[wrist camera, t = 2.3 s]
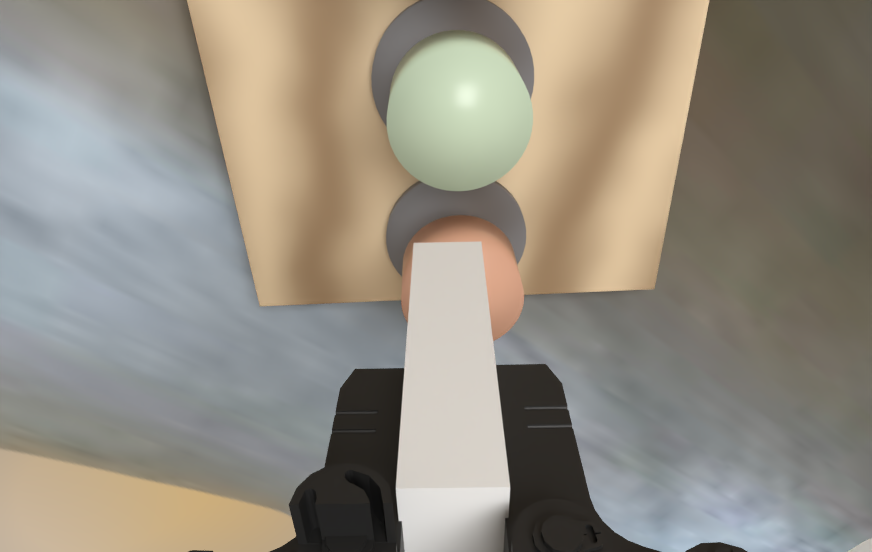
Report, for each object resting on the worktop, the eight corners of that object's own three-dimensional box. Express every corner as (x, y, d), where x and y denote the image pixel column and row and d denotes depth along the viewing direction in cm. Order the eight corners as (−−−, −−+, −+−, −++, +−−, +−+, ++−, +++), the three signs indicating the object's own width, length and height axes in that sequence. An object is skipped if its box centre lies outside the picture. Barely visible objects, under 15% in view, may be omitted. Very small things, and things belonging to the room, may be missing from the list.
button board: (267, 286, 36) (257, 312, 34) (146, -250, 23) (117, -264, 21) (643, 269, 36) (657, 295, 34) (738, -276, 23) (772, -292, 21)
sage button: (394, 164, 27) (392, 194, 24) (384, 33, 24) (380, 51, 21) (519, 158, 27) (529, 188, 24) (524, 27, 24) (537, 44, 21)
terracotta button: (406, 312, 31) (405, 351, 28) (398, 217, 28) (397, 251, 25) (513, 308, 31) (521, 346, 28) (517, 212, 28) (526, 245, 25)
